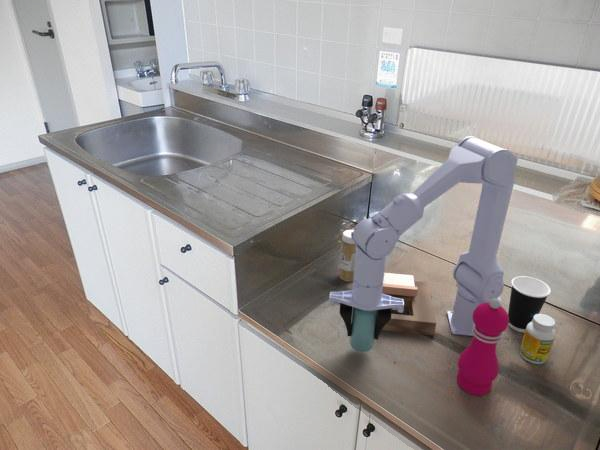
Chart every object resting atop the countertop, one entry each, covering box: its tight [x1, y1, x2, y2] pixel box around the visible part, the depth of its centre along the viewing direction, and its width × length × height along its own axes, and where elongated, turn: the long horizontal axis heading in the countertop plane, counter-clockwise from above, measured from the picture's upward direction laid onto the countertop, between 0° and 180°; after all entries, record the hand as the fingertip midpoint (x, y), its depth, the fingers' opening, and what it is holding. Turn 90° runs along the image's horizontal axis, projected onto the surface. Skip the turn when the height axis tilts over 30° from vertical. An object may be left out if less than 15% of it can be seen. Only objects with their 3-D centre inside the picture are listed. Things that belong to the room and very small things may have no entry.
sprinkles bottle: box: [339, 229, 356, 283], centre depth 117 cm, size 5×5×14 cm
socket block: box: [376, 280, 437, 337], centre depth 107 cm, size 16×16×4 cm
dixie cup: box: [507, 275, 552, 333], centre depth 102 cm, size 8×8×11 cm
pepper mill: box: [456, 298, 509, 396], centre depth 83 cm, size 7×7×20 cm
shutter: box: [382, 272, 418, 297], centre depth 110 cm, size 9×9×3 cm
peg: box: [349, 307, 377, 353], centre depth 92 cm, size 5×5×9 cm
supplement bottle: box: [519, 313, 556, 365], centre depth 93 cm, size 5×5×10 cm
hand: (362, 334), depth 93 cm, fingers closed on peg, 5 cm apart
